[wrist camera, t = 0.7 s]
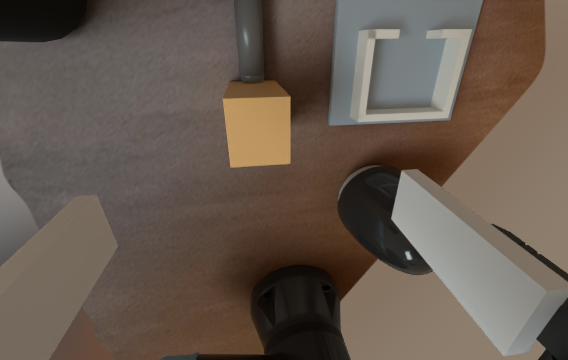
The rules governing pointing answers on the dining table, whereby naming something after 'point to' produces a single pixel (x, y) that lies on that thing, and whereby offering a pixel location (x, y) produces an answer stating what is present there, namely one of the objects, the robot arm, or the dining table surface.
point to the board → (399, 59)
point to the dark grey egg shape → (378, 218)
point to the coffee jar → (39, 19)
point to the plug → (255, 99)
